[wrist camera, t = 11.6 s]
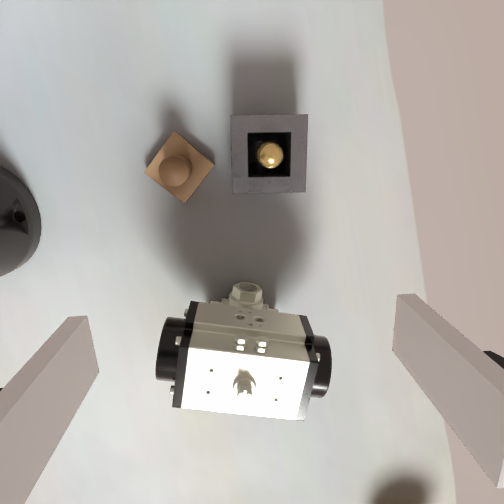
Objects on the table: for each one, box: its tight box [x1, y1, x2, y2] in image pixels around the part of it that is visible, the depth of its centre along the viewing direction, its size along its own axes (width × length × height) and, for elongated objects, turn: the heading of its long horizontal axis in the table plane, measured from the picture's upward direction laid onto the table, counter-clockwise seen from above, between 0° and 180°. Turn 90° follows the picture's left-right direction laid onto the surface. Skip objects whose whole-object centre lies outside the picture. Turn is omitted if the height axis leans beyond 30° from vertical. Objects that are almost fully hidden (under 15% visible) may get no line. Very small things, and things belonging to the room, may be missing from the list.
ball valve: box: [156, 282, 332, 421], centre depth 41 cm, size 18×8×18 cm, turn 81°
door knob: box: [247, 133, 285, 173], centre depth 39 cm, size 6×6×9 cm
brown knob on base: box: [144, 132, 215, 204], centre depth 41 cm, size 6×6×6 cm
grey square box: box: [230, 114, 308, 194], centre depth 40 cm, size 8×8×5 cm
